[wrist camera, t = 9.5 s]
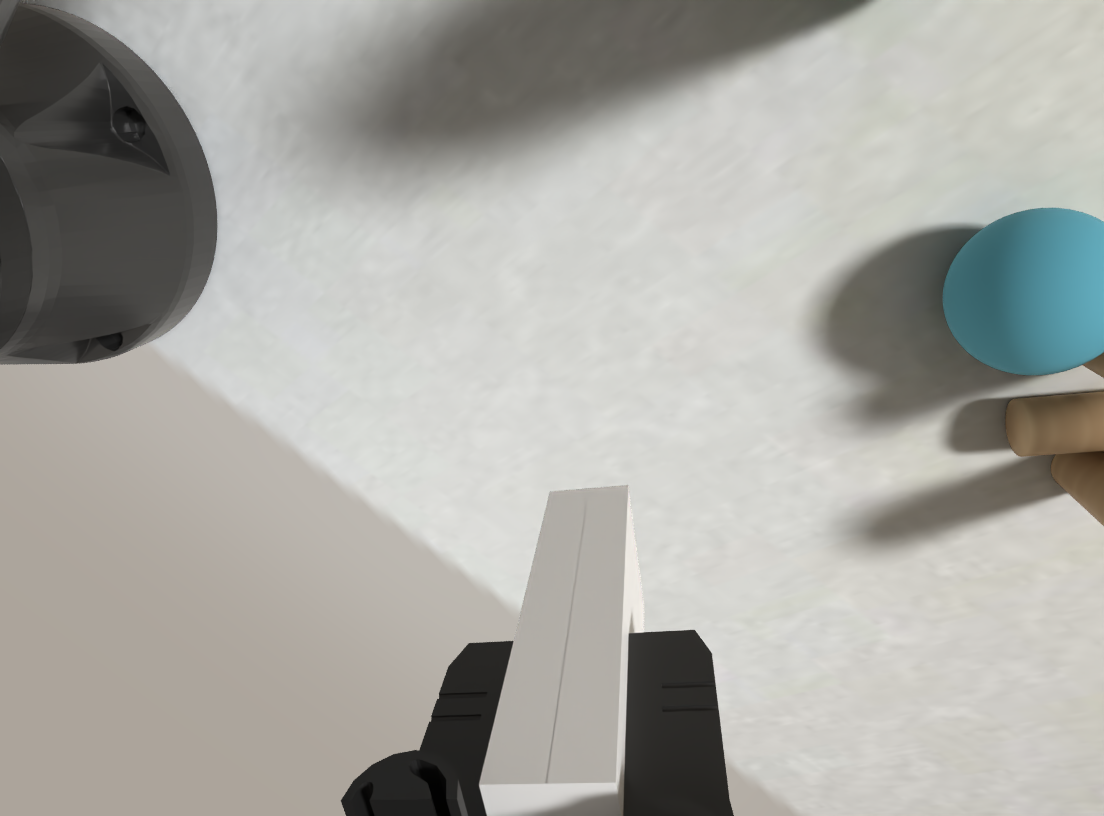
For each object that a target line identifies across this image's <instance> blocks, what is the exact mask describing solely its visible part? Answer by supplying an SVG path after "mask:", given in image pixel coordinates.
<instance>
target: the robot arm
mask: <svg viewBox="0 0 1104 816" xmlns="http://www.w3.org/2000/svg"><path fill="white" fill-rule="evenodd" d="M216 240H217V209H216V200H215V194H214V188H213V183H212V179H211V174H210V171H209V168H208V164H207V161H206V158H205V155H204V153H203V150H202V147H201V145H200V143H199V140H198V138H197V136H196V133H195V131H194V130H193V128H192V126H191V124H190V122H189V120H188V118H187V116H186V115H185V113H184V111H183V110H182V108H181V106H180V105H179V103H178V102H177V100H176V99H175V97H174V96H173V95H172V93H171V92H170V91H169V89H168V88H167V87H166V85H165V84H164V83H163V82H162V80H161V79H160V78H159V77H158V76H157V75H156V73H155V72H154V71H153V70H152V69H151V68H150V67H149V66H148V65H147V64H146V63H145V62H144V61H143V60H142V59H141V58H140V57H139V56H138V55H136V54H135V53H134V52H133V51H132V50H131V49H130V48H128V47H127V46H126V45H125V44H123V43H122V42H121V41H119V40H118V39H116V38H115V37H114V36H112V35H111V34H109V33H108V32H106V31H104V30H103V29H101V28H99V27H98V26H96V25H94V24H92V23H90V22H88V21H86V20H84V19H82V18H79V17H77V16H75V15H72V14H70V13H66V12H63V11H60V10H57V9H53V8H49V7H45V6H39V5H33V4H27V3H21V2H20V0H0V364H74V363H75V364H76V363H87V362H94V361H99V360H103V359H108V358H111V357H115V356H118V355H120V354H123V353H125V352H128V351H130V350H132V349H134V348H137V347H139V346H141V345H144V344H146V343H148V342H150V341H153V340H154V339H156V338H158V337H160V336H162V335H163V334H165V333H166V332H168V331H169V330H171V329H172V328H173V327H175V326H176V325H177V324H178V323H179V322H180V321H181V320H182V319H183V318H184V317H185V316H186V315H187V314H188V312H189V311H190V310H191V309H192V307H193V306H194V305H195V303H196V302H197V300H198V298H199V297H200V295H201V293H202V291H203V289H204V287H205V285H206V282H207V280H208V277H209V274H210V271H211V268H212V264H213V260H214V255H215V249H216ZM431 717H432V720H431V722H429V724H428V727H427V730H426V733H425V736H424V739H423V742H422V745H421V747H420V750H419V751H417V750H414V751H409V752H403V753H398V754H393V755H391V756H389V757H387V758H385V759H383V760H381V761H379V762H377V763H375V764H373V765H371V766H370V767H369V768H368V769H367V770H365V771H364V772H363V773H362V774H361V775H360V776H359V777H357V778H356V779H355V780H354V781H353V783H352V784H351V786H350V787H349V789H348V791H347V792H346V794H345V795H344V797H343V798H342V800H341V802H342V805H343V808H344V811H345V814H346V816H734V815H733V811H732V807H731V804H730V800H729V792H728V784H727V775H726V767H725V759H724V750H723V742H722V734H721V726H720V717H719V710H718V701H717V693H716V685H715V676H714V668H713V660H712V653H711V651H710V650H709V649H708V647H707V646H706V645H705V643H704V642H703V641H702V639H701V638H700V636H699V635H698V634H697V632H696V631H695V630H684V631H663V632H644V600H643V593H642V585H641V577H640V570H639V562H638V555H637V547H636V540H635V532H634V525H633V517H632V510H631V502H630V494H629V487H628V485H625V486H612V487H600V488H588V489H576V490H564V491H552V492H550V493H549V497H548V501H547V506H546V510H545V514H544V518H543V522H542V526H541V530H540V534H539V539H538V543H537V547H536V551H535V555H534V559H533V563H532V568H531V572H530V576H529V580H528V584H527V588H526V592H525V596H524V601H523V605H522V609H521V613H520V617H519V621H518V626H517V630H516V634H515V638H514V641H504V642H485V643H469V644H468V645H467V646H466V647H465V648H464V649H463V651H462V652H461V653H460V654H459V655H458V656H457V658H456V659H455V660H454V661H453V662H452V663H451V664H450V666H449V667H448V670H447V672H446V676H445V678H444V681H443V684H442V687H441V690H440V692H439V699H437V701H436V704H435V707H434V710H433V713H432V716H431Z"/></svg>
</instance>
